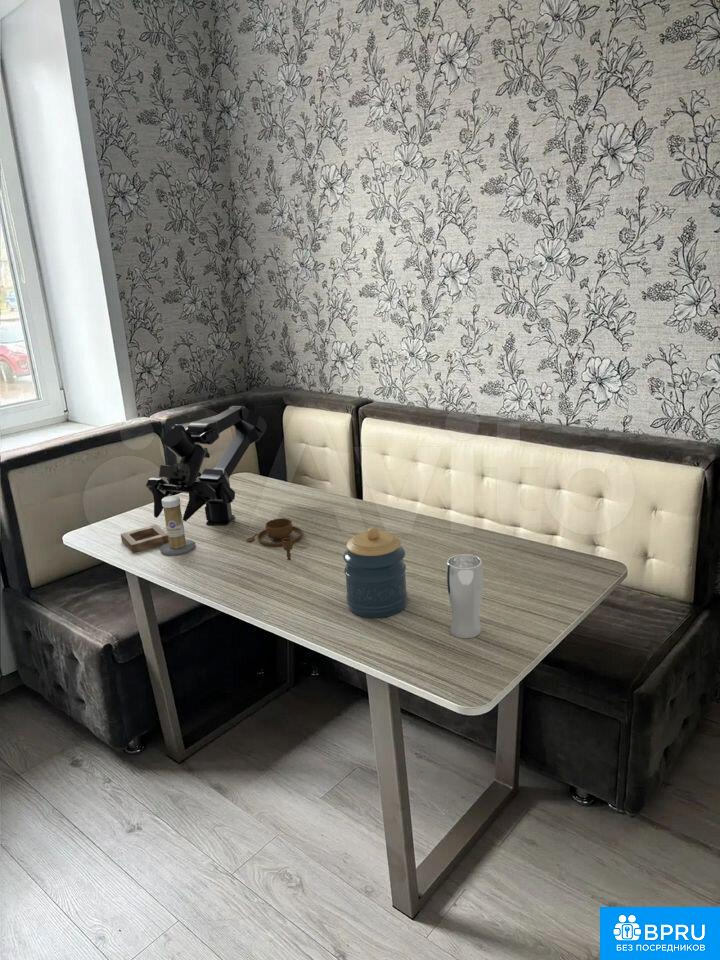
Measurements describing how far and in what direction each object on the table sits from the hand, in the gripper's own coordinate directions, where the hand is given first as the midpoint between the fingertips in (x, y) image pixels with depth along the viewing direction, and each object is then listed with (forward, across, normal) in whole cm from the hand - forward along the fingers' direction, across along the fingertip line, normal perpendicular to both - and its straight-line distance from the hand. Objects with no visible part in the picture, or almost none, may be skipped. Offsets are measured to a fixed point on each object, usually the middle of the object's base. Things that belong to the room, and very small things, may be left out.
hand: (169, 518), depth 189 cm
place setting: (-1, +24, +15) cm, 28 cm away
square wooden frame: (+5, -12, +8) cm, 15 cm away
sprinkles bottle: (+5, 0, +7) cm, 9 cm away
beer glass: (+18, +83, -5) cm, 85 cm away
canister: (+14, +62, -1) cm, 64 cm away
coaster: (+5, 0, +7) cm, 9 cm away
